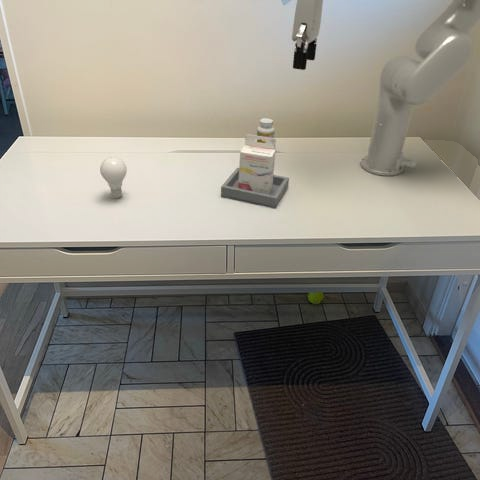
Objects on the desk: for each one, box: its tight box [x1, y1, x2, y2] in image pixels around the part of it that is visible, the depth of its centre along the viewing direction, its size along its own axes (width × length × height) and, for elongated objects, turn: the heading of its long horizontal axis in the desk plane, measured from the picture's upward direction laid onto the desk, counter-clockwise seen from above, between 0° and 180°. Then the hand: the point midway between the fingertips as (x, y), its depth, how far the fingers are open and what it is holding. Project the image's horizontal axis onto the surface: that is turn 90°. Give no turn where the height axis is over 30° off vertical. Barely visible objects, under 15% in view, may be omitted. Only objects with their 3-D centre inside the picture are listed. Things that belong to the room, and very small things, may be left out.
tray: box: [220, 167, 290, 209], centre depth 126 cm, size 15×12×3 cm
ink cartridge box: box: [238, 133, 277, 195], centre depth 122 cm, size 9×5×15 cm, turn 75°
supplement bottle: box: [256, 117, 276, 143], centre depth 147 cm, size 5×5×10 cm
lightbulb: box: [99, 156, 128, 199], centre depth 119 cm, size 6×6×11 cm
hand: (303, 64), depth 120 cm, fingers open, 9 cm apart
